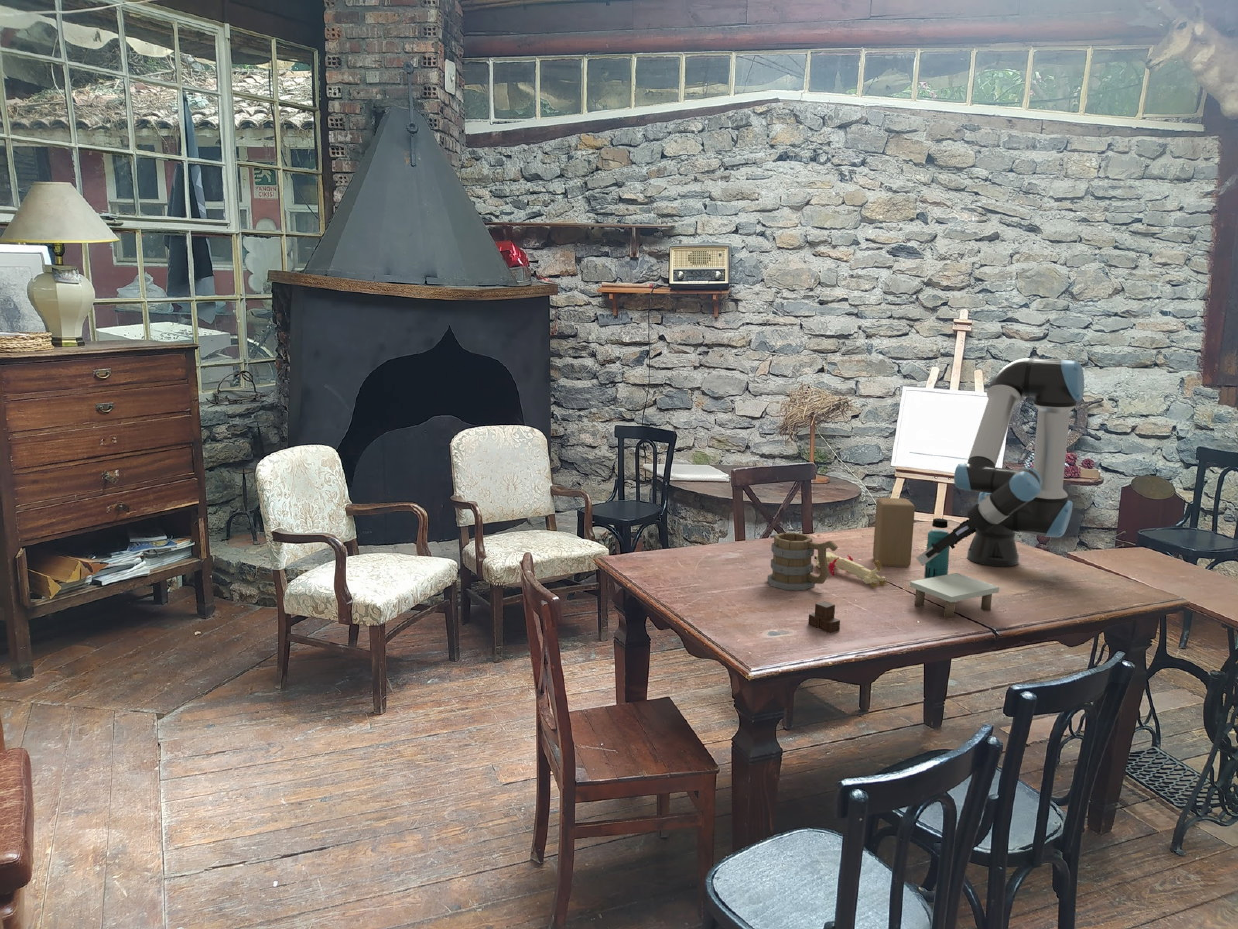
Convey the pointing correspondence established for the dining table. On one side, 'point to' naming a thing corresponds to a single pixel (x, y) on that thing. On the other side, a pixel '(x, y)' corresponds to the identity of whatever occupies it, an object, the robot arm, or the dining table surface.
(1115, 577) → the dining table surface
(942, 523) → the beverage bottle
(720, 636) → the dining table surface
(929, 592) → the peg shelf
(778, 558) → the tankard
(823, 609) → the stack of crates
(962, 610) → the dining table surface
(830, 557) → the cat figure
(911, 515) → the wooden block
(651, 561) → the dining table surface
